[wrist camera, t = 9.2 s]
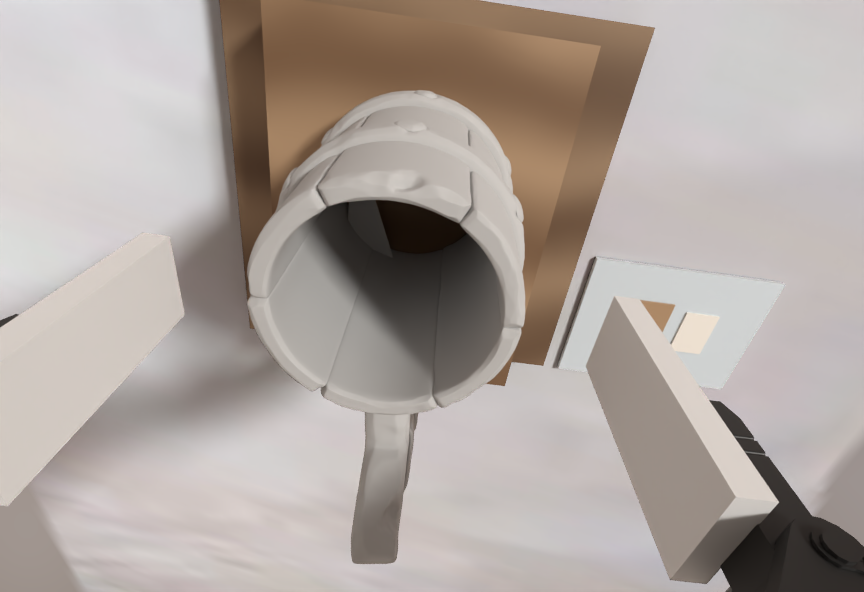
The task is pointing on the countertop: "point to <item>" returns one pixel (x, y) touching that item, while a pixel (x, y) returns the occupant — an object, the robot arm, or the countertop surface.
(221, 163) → the countertop surface
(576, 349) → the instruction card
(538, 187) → the plinth
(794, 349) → the countertop surface
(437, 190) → the mug
